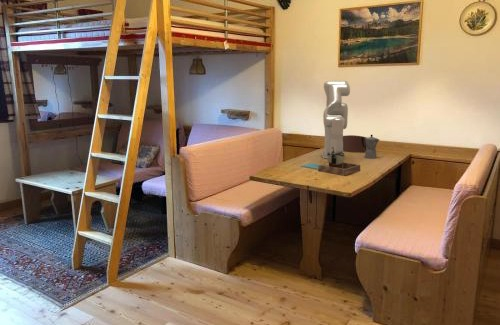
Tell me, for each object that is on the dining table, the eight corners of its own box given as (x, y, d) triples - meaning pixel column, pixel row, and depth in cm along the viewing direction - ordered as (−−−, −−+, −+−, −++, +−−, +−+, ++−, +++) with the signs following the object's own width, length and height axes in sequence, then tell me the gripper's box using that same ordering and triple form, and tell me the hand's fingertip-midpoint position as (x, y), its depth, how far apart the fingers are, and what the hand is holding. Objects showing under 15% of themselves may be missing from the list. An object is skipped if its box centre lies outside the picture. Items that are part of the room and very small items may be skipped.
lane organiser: (318, 170, 276) (318, 165, 275) (333, 166, 289) (333, 160, 288) (345, 175, 262) (346, 169, 261) (360, 170, 275) (360, 164, 274)
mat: (300, 166, 290) (300, 165, 290) (310, 163, 299) (310, 162, 298) (319, 169, 279) (319, 169, 279) (329, 166, 288) (329, 166, 288)
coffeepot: (381, 157, 315) (382, 134, 311) (375, 159, 308) (376, 136, 304) (363, 155, 325) (364, 132, 322) (357, 157, 319) (358, 134, 315)
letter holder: (364, 153, 335) (365, 136, 332) (340, 151, 343) (341, 135, 340) (366, 150, 344) (367, 134, 341) (342, 149, 352) (343, 133, 349)
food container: (347, 165, 278) (347, 151, 275) (344, 168, 272) (344, 154, 270) (329, 164, 283) (329, 150, 280) (326, 166, 278) (326, 152, 275)
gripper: (339, 134, 281) (338, 160, 285) (325, 137, 269) (324, 164, 273) (348, 135, 276) (347, 161, 280) (335, 138, 264) (334, 165, 268)
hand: (336, 162), depth 276 cm, fingers closed on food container, 6 cm apart
